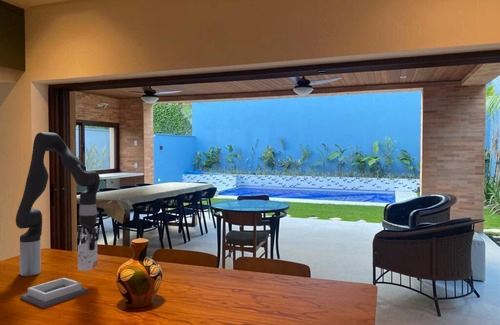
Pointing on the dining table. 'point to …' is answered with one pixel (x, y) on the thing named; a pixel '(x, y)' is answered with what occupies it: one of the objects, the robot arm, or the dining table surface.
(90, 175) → the robot arm
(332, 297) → the dining table surface
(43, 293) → the cartridge holder
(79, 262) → the ink cartridge box
